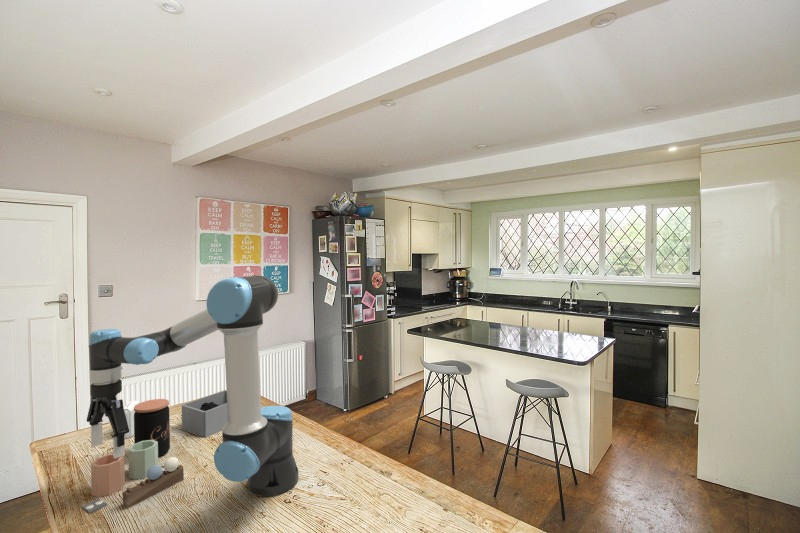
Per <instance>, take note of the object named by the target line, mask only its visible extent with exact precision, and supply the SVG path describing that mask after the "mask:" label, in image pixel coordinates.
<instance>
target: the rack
mask: <svg viewBox="0 0 800 533" xmlns="http://www.w3.org/2000/svg"><path fill="white" fill-rule="evenodd" d="M184 479H185V478H184V467H183V466H182V465H180V464H179V465H178V467H177V468H176V469H175V470H174V471H172V472H168V471H166V470H165V469H164V470H162V474H161V476H160V477H159V478H157V479H155V480H150V479H148V478H144V480H145V481H141V480H140V482H139V483H138V484H136V485H134V486H133V487H126V490H124V491H122V506H123V507H124V508H126V509H129V508H132V507H134V506H135V505H137V504H139V503H141V502H143V501H145V500H147V499H149V498H151V497H153V496H155V495H157V494H159V493H161V492H162V491H164V490H166V489H168V488H171V487H172V486H175V485H176V484H179V482H182V481H183V480H184Z"/></svg>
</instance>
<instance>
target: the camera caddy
mask: <svg viewBox="0 0 800 533" xmlns="http://www.w3.org/2000/svg"><path fill="white" fill-rule="evenodd" d="M210 402H214V404H216V405H217V404H218V405H219V406H217V407H215V408H213V409H210V410H207V411H202V410H200V408H201V406H202V404H204V403H208V404H209V403H210ZM227 422H228V411H227V390H226V389H224V390H223V389H222V390H221V391H217V392H214V393H212V394H210V395H206V396H203V397H200V398H197V399H195V400H191V401H188V402H186V403H183V404H181V430H182V431H185V432H188V433H191V434H194V435H195V436H198V437H201V438H209V437H210V436H212V435H215V434H217V433H219V432H221V431H222V428H223V426H224V425H225V424H226V423H227Z"/></svg>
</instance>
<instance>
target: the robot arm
mask: <svg viewBox="0 0 800 533" xmlns="http://www.w3.org/2000/svg"><path fill="white" fill-rule="evenodd" d="M278 298H279V292H278V288H277V285H276V284H275V283H274V282H273V280H271V279H270V278H268V277H267V276H264V275H249V276H233V277H229V278H225V279H221V280H219V281H218V282H216V283H215V284H214V285H213V287H211V288H210V290H209V292H208V294H207V297H206V309H204V310H202V311H200V312H198V313H196V314H194V315H192V316H190V317H188V318H186V319H184V320H182V321H180V322H178V323H176V324H173V325H172V326H169V327H168V328H166V329H164V330H161V331H156V332H151V333H148V334H144V335H139V336H134V337H127V336H126V337H123V336H122V334H121V330H120V329H117V328H105V329H97V330H94V331H92V332H90V334H89V344H88V348H89V383H91V384H90V385H89V386H90V387H89V390H90V391H89V392H90V403H89V409H88V411H87V417H86V422H87V423H89V425H90V443H91V445H90V446H91V448H95V447H98V446H100V445H103V442H104V441H103V440H104V439H103V422H104V421H103V417H104V416H105V417H107V418H108V421H109V423H110V426H111V429H112V431H113V435H112V436H111V437H112V448H113V449H112V452H113V453H112V454H113V458H114V459H115V458H118V457H120V456H123V455H124V456H125V455H126V440H125V439H126V438H125V434H126V433H129V427H128V424H127V420H126V416H125V412H124V408H123V407H124V401H123V399H117V395H118V394H120V393H122V390H123V382H122V370H123V366H122V364H125V365H126V364H127V365H128V364H129V365H135V366H137V365H148V364H150V363H152V362H153V360H155V359H156V358H157V357H158V358H159V357H160V356H163V355H167V354H170V353H174V352H177V351H180V350H181V349H184V348H186V346H187V345H189V344H191V343H193V342H195V341H198V340H199V339H202V338H204V337H206V336H208V335H211V334H212V333H215V332H216V331H219V332H221V333H222V335H223V343H224V344H223V345H224V346H223V348H224V364H225V365H224V366H225V386H226V388H225V390H227V411H228V422H227V423H226V424H225V425H224V426H223V428H222V432H221V434H222V436H221V437H222V442H221V443H219V444H218V446H217V447H216V449H215V451H214V454H213V463H214V466H215V469H216V470H217V471H218V473H219V474H220V475H222V476H223V478H224V479H226V480H228V481H231V482H235V483H240V482H244V481H245V482H247V490H248V492H249V493H250V494H252V495H254V496H258V497H271V496H272V497H273V496H279V495H280V494H284V493H286V492H288V491H290V490H291V489H292V488H294V487H295V486H296V485H297V483H298V482H299V477H300V475H299V468H298V465H297V462H296V460H295V457H294V454H293V421H294V420H293V411H292V410H291V409H290V408H289V407H287V406H283V405H267V406H262V402H261V400H262V399H261V398H262V397H261V378H260V377H261V376H260V360H259V358H260V357H259V356H260V354H259V336H258V335H259V334H258V333H259V332H258V331H259V329H260V328H261V327H262V326H264V317H263V316H264V315H263V314H266V313H269V312H270V311H271V310H272V309H273V308H274V307H275V306H276V304H277V302H278Z"/></svg>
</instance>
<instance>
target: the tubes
mask: <svg viewBox="0 0 800 533" xmlns="http://www.w3.org/2000/svg"><path fill="white" fill-rule="evenodd" d="M127 450H128V454H127V455H128V478H130V479H132V480H133V481H135V480H143V479H144V480H145V479H148V478H147V471H148V469H149V468H150V467H151V466H153V465H159V458H158V442H157V441H155V440H146V441H141V442H138V443H136V444H134V443H133V444H132V445H131V446H130V447H129V448H127ZM90 478H91V480H90V481H91V484H90V485H91V495H92V496H94V497H96V498H97V499H94V500H91V501H90V502H88V503H86V504H84V505H82V506H81V508H82V509H83V510H84V511H86V512H87V511H88V513H89V514H92V513H94V512H96V511H98V510H101V509H103V508H104V507H107V506H108V503H106V502H105V501H104V500H102V499H100V497H107V496H111V495H113V494H115V493H117V492H118V491H121V490H122V488H123V487H125V484H126V481H125V479H126V478H125V455H123V456H120V457H118V458H115V459H114V458H113V453H109V454H105V455H102V456H99V457H97V458H95V459H94V460H93V461H92V462H91V464H90Z"/></svg>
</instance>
